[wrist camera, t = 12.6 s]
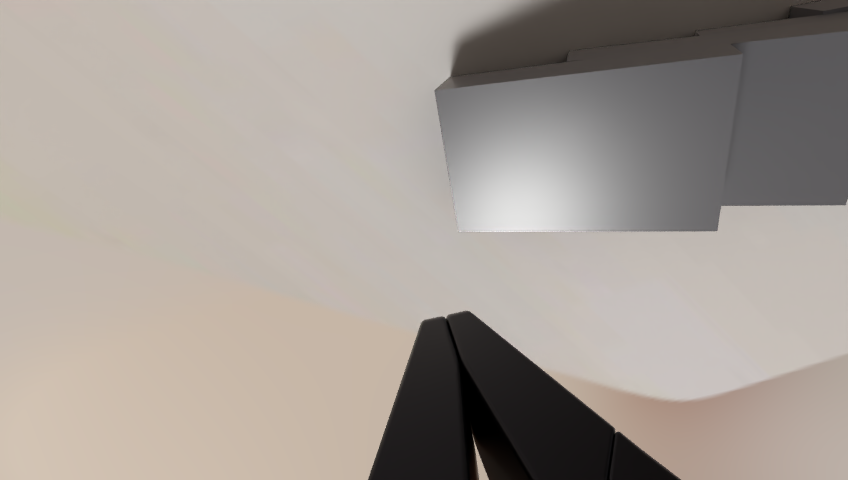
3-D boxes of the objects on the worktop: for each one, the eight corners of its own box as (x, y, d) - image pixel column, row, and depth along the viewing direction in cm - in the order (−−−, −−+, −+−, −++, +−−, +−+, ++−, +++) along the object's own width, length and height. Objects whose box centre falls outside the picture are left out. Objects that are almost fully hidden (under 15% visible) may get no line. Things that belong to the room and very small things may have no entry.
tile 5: (449, 77, 16) (727, 41, 13) (469, 208, 18) (706, 203, 15) (434, 90, 14) (743, 53, 11) (458, 231, 16) (717, 231, 14)
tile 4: (569, 50, 16) (869, 15, 13) (570, 185, 18) (822, 180, 15) (566, 61, 14) (902, 24, 11) (567, 206, 17) (845, 204, 14)
